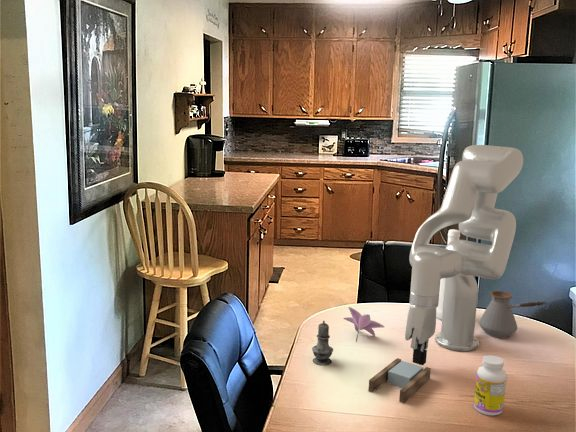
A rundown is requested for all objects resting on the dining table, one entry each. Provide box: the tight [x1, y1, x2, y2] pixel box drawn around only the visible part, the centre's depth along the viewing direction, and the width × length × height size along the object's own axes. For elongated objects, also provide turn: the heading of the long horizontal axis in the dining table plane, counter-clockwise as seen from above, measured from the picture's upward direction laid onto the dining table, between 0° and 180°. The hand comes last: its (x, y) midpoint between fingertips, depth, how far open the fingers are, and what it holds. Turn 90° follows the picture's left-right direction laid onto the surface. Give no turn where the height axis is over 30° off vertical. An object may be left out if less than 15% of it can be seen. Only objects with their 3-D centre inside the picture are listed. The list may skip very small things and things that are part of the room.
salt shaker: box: [311, 320, 334, 366], centre depth 166 cm, size 6×6×12 cm
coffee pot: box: [478, 290, 549, 339], centre depth 184 cm, size 21×12×15 cm, turn 34°
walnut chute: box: [367, 358, 431, 404], centre depth 154 cm, size 16×10×3 cm, turn 144°
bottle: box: [436, 228, 461, 322], centre depth 198 cm, size 8×8×30 cm
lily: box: [343, 306, 385, 343], centre depth 182 cm, size 12×12×10 cm
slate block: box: [386, 360, 424, 389], centre depth 157 cm, size 8×6×4 cm
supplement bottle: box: [473, 355, 507, 416], centre depth 142 cm, size 7×7×13 cm
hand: (419, 362), depth 164 cm, fingers closed
